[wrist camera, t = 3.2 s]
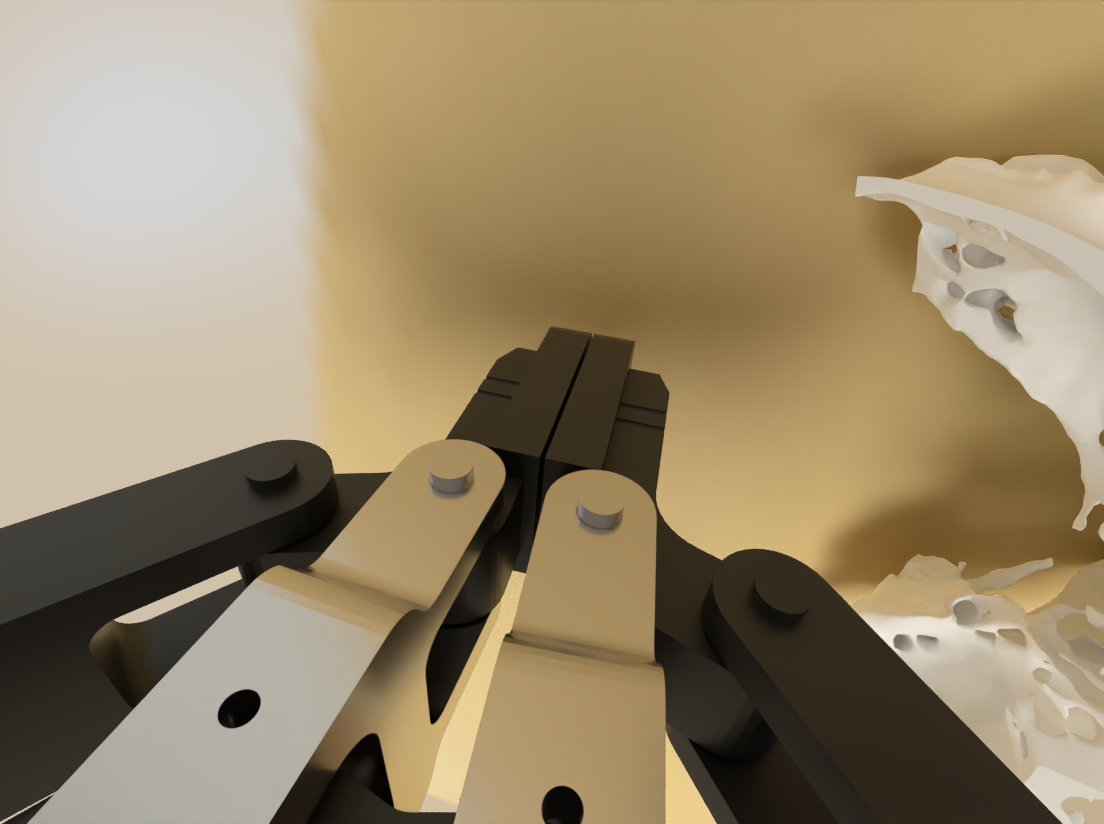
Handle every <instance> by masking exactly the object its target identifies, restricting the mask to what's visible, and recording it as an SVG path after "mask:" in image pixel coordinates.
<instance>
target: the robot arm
mask: <svg viewBox="0 0 1104 824" xmlns="http://www.w3.org/2000/svg"><path fill="white" fill-rule="evenodd" d="M634 347H635V341H631V340H625V339H620V338H614V337H609V336H603V335H598V334H594V336H593V338H592V333H586V332H581V331H575V330H570V329H564V328H559V327H554V326H551V327H550V329H549V331H548V332H547V334H546V336H545V338H544V340H543V342H542V343H541V345H540V347H539V349H538V351H533V350H528V349H523V348H516V349H514V350H513V351H511V352H509V353H508V354H506V355H504V356H502V357H501V358H499V359H497V361H496V362H495V364H494V365H493V367H492V368H491V370H490V372H489V373H488V375H487V377H486V379H484V381H483V382H482V384H481V385H480V387H479V388H478V392H477V393H475V395H474V396H473V398H472V399H471V401H470V402H469V404H468V405H467V407H466V408H465V410H464V412H463V413H462V415H461V416H460V418H459V419H458V421H457V422H456V424H455V425H454V427H453V428H452V430H451V432H450V433H449V435H448V436H447V438H446V439H445V440H440V441H435V442H431V443H428V444H425V445H423V446H421V447H419V448H417V449H415V450H413V451H412V452H411V453H409V454H408V455H407V456H406V457H405V458H404V459H403V460H402V461H401V462H400V464H399V465H398V466H397V467H396V468H395V469H394V471H393V472H386V473H353V474H334V470H333V465H332V460H331V458H330V456H329V455H328V454H327V453H326V451H325V450H323V449H322V448H320V447H319V446H317V445H315V444H312V443H309V442H305V441H299V440H277V441H271V442H266V443H262V444H258V445H255V446H252V447H249V448H246V449H243V450H240V451H237V452H233V453H231V454H227V455H225V456H221V457H218V458H215V459H212V460H209V461H206V462H203V463H200V464H197V465H194V466H191V467H188V468H184V469H181V470H178V471H175V472H172V473H169V474H166V475H163V476H160V477H157V478H154V479H151V480H148V481H145V482H141V483H139V484H135V485H132V486H129V487H126V488H123V489H120V490H117V491H114V492H111V493H108V494H105V495H102V496H99V497H95V498H93V499H89V500H86V501H83V502H81V503H77V504H74V505H71V506H68V507H65V508H62V509H59V510H56V511H53V512H49V513H46V514H43V515H40V516H37V517H34V518H31V519H28V520H25V521H22V522H19V523H16V524H13V525H10V526H6V527H4V528H0V821H2V820H4V819H6V818H8V817H10V816H11V815H13V814H15V813H17V812H19V811H21V810H23V809H24V808H26V807H28V806H30V805H32V804H34V803H35V802H37V801H39V800H41V799H43V798H45V797H47V796H49V795H50V794H52V793H54V792H56V791H57V792H56V793H55V794H53V795H52V796H50V797H48V798H47V799H45V800H43V801H41V802H39V803H38V804H36V805H34V806H32V807H31V808H29V809H27V810H25V811H24V812H22V813H20V814H18V815H16V816H15V817H13V818H11V819H9V820H8V821H6V822H4V823H2V824H665V729H666V732H667V735H668V738H669V740H670V742H671V744H672V746H673V748H674V749H675V751H676V753H677V755H678V756H679V758H680V760H681V762H682V763H683V765H684V767H685V769H686V770H687V772H688V774H689V776H690V777H691V779H692V781H693V783H694V784H695V786H696V788H697V790H698V791H699V793H700V795H701V797H702V798H703V800H704V802H705V804H706V805H707V807H708V809H709V811H710V812H711V814H712V816H713V818H714V819H715V821H716V823H717V824H1062V822H1061V821H1060V820H1059V819H1058V818H1057V817H1056V816H1055V815H1054V814H1053V813H1052V812H1051V811H1050V810H1049V809H1048V808H1047V807H1046V806H1045V805H1044V804H1043V803H1042V802H1041V801H1040V800H1039V799H1038V798H1037V797H1036V796H1035V795H1034V794H1033V793H1032V792H1031V791H1030V790H1029V789H1028V788H1027V787H1026V786H1025V785H1024V784H1023V783H1022V782H1021V780H1020V779H1019V778H1018V777H1017V776H1016V775H1015V774H1014V773H1013V772H1012V771H1011V770H1010V769H1009V768H1008V767H1007V766H1006V765H1005V764H1004V763H1003V762H1002V761H1001V760H1000V759H999V758H998V757H997V756H996V755H995V754H994V753H993V752H992V751H991V750H990V749H989V748H988V747H987V746H986V745H985V744H984V743H983V742H982V741H981V740H980V738H979V737H978V736H977V735H976V734H975V733H974V732H973V731H972V730H971V729H970V728H969V727H968V726H967V725H966V724H965V723H964V722H963V721H962V720H961V719H960V718H959V717H958V716H957V715H956V714H955V713H954V712H953V711H952V710H951V709H950V708H949V707H948V706H947V705H946V704H945V703H944V702H943V701H942V700H941V699H940V698H939V696H938V695H937V694H936V693H935V692H934V691H933V690H932V689H931V688H930V687H929V686H928V685H927V684H926V683H925V682H924V681H923V680H922V679H921V678H920V677H919V676H918V675H917V674H916V673H915V672H914V671H913V670H912V669H911V668H910V667H909V666H908V665H907V664H906V663H905V662H904V661H903V660H902V659H901V658H900V657H899V656H898V654H897V653H896V652H895V651H894V650H893V649H892V648H891V647H890V646H889V645H888V644H887V643H886V642H885V641H884V640H883V639H882V638H881V637H880V636H879V635H878V634H877V633H876V632H875V631H874V630H873V629H872V628H871V627H870V626H869V625H868V624H867V623H866V622H865V621H864V620H863V619H862V618H861V617H860V616H859V615H858V614H857V612H856V611H855V610H854V609H853V608H852V607H851V606H850V605H849V604H848V603H847V602H846V601H845V600H844V599H843V598H842V597H841V596H840V595H839V594H838V593H837V592H836V591H835V590H834V589H833V588H832V587H831V586H830V585H829V584H828V583H827V582H826V581H825V580H824V579H823V578H822V577H821V576H820V575H819V574H818V573H817V572H815V571H814V570H812V569H811V568H810V567H808V566H807V565H805V564H803V563H802V562H800V561H798V560H796V559H794V558H792V557H790V556H787V555H785V554H782V553H779V552H775V551H770V550H765V549H747V550H742V551H738V552H735V553H733V554H731V555H729V556H727V557H726V558H725V559H723V560H720V559H718V558H716V557H714V556H712V555H710V554H708V553H706V552H704V551H702V550H700V549H698V548H697V547H695V546H693V545H691V544H690V543H688V542H686V541H685V540H684V539H682V538H681V537H680V536H678V535H677V534H676V533H675V532H674V531H673V530H672V529H671V528H670V527H669V526H668V524H667V523H666V522H665V521H664V519H663V517H662V516H661V514H660V512H659V509H658V507H657V502H656V489H657V482H658V474H659V467H660V459H661V452H662V444H663V437H664V429H665V422H666V413H667V407H668V400H669V391H668V389H667V388H666V386H665V384H664V382H663V380H662V378H661V376H660V375H659V374H655V373H649V372H644V371H639V370H634V369H631V363H632V358H633V353H634ZM237 566H238V569H239V571H240V574H241V576H242V579H241V580H238V581H236V582H234V583H232V584H230V585H227V586H225V587H222V588H220V589H218V590H216V591H213V592H211V593H209V594H207V595H204V596H202V597H200V598H197V599H195V600H193V601H191V602H188V603H186V604H184V605H182V606H179V607H177V608H175V609H173V610H170V611H168V612H166V613H163V614H161V615H159V616H157V617H154V618H152V619H149V620H147V621H143V622H140V623H132V624H124V623H119V622H116V621H114V619H116V618H118V617H120V616H122V615H125V614H127V613H129V612H132V611H134V610H136V609H139V608H141V607H143V606H146V605H148V604H150V603H153V602H155V601H157V600H160V599H162V598H164V597H167V596H169V595H172V594H174V593H176V592H178V591H181V590H183V589H186V588H188V587H190V586H192V585H195V584H197V583H200V582H202V581H204V580H207V579H209V578H211V577H214V576H216V575H218V574H221V573H223V572H225V571H227V570H230V569H232V568H235V567H237ZM512 570H514V571H518V572H522V573H526V576H525V580H524V584H523V588H522V592H521V596H520V600H519V604H518V608H517V612H516V616H515V619H514V623H513V627H512V630H511V632H510V633H507V634H506V635H505V637H504V639H503V642H502V644H501V647H500V651H499V654H498V657H497V661H496V664H495V668H494V672H493V676H492V680H491V683H490V687H489V691H488V695H487V699H486V702H485V706H484V710H483V714H482V718H481V721H480V725H479V729H478V733H477V737H476V741H475V744H474V748H473V752H472V756H471V760H470V763H469V767H468V771H467V775H466V779H465V782H464V786H463V790H462V794H461V798H460V802H459V805H458V809H457V812H455V813H454V812H450V813H447V812H439V813H438V812H437V813H436V812H419V811H420V808H421V806H422V803H423V801H424V798H425V796H426V793H427V790H428V787H429V784H430V781H431V777H432V774H433V770H434V766H435V761H436V756H437V752H438V749H439V746H440V743H441V740H442V737H443V735H444V732H445V730H446V728H447V726H448V723H449V721H450V719H451V717H452V715H453V713H454V711H455V708H456V706H457V704H458V702H459V700H460V698H461V695H462V693H463V691H464V689H465V687H466V685H467V683H468V680H469V678H470V676H471V674H472V672H473V670H474V668H475V665H476V663H477V661H478V659H479V657H480V655H481V652H482V650H483V648H484V646H485V644H486V642H487V640H488V637H489V635H490V633H491V631H492V629H493V627H494V625H495V622H496V620H497V618H498V615H499V612H500V606H501V598H502V596H503V594H504V592H505V589H506V586H507V584H508V581H509V578H510V576H511V573H512Z"/></svg>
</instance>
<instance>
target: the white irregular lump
mask: <svg viewBox="0 0 1104 824" xmlns="http://www.w3.org/2000/svg"><path fill="white" fill-rule="evenodd" d="M858 196H866V197H870V198H872V199H874V200H877V201H897V202H900V203H903V204H905V205H907V206H908V207H909V208H910V209H911V210H912V211H913V212H914V213H915V214H916V215H917V216H918V218H919V220H920V221H921V223H922V225H923V227H922V229H921V232H920V234H919V238H918V251H917V264H916V277H915V281H914V284H913V288H912V292H916V293H922V294H924V295H925V296H926V297H927V298H928V300H929V301H930V302H931V303H932V304H933V305H934V306H935V307H937V308H938V309H939V310H940V312H941V315H942V316H943V318H944V319H945V320H946V322H947V323H948V324H949V325H950V327H951V328H952V329H953V330H955V331H960V332H963V333H965V334H966V335H967V336H968V337H969V338H970V339H971V340H972V341H973V342H974V344H975V345H976V346H977V347H978V348H979V349H981V350H982V351H983V352H984V353H985V354H986V355H987V356H988V357H990V358H993V359H994V360H996V361H998V362H999V363H1000V364H1002V365H1003V366H1004V367H1006V368H1007V370H1008V371H1009V372H1010V374H1011V375H1012V376H1014V377H1015V378H1016V379H1017V380H1018V381H1019V382H1020V383H1021V384H1022V386H1023V387H1024V388H1025V390H1026V391H1027V393H1028V394H1029V395H1030V396H1031V397H1032V398H1033V399H1034V400H1036V401H1038V402H1040V403H1042V404H1045V405H1046V406H1047V407H1048V408H1050V409H1051V410H1052V411H1053V412H1054V413H1055V414H1056V416H1057V418H1058V419H1059V420H1060V422H1061V423H1062V425H1063V427H1064V429H1065V431H1066V433H1067V435H1068V436H1069V437H1070V438H1071V439H1072V441H1073V442H1074V444H1075V445H1076V447H1077V450H1078V453H1079V456H1080V464H1081V479H1082V481H1083V483H1084V486H1085V495H1084V498H1083V507H1082V509H1081V511H1080V513H1079V515H1078V516H1077V518H1076V519H1075V521H1074V523H1073V526H1072V528H1075V529H1077V530H1079V531H1082V530H1083V529H1084V528H1085V527H1086V525H1087V520H1086V517H1087V516H1088V514H1089V513H1090V511H1091V510H1092V509H1093V507H1094V506H1095V505H1097V504H1100V503H1101V504H1103V505H1104V446H1102V445H1101V444H1100V443H1099V436H1100V433H1101V432H1102V431H1103V430H1104V176H1103V175H1102V174H1101V173H1100V172H1099V171H1098V170H1097V169H1096V168H1095V167H1093V166H1092V165H1091V164H1089V163H1088V162H1086V161H1085V160H1083V159H1080V158H1074V157H1069V156H1066V155H1050V154H1041V155H1026V156H1015V157H1013V158H1011V159H1010V160H1008V161H1007V162H1006V163H1004V164H1003V165H1001V166H1000V165H999V164H998V163H996V162H995V161H992V160H989V159H985V158H964V157H952V158H949V159H946V160H944V161H943V162H941V163H940V164H938V165H935V166H933V167H931V168H929V169H927V170H925V171H923V172H921V173H918V174H916V175H912V176H909V177H905V178H902V179H891V178H884V177H870V176H858V178H857V184H856V191H855V197H858ZM953 245H957V246H956V247H957V249H958V250H957V251H956V252H955V253H953V252H952V249H945V248H947V247H950V246H953ZM1003 306H1008V307H1010V308H1012V309H1014V310H1015V312H1013V318H1014V321H1013V320H1011V319H1008V318H1005V317H1003V316H1002V315H1001V313H1000V309H1001V308H1002V307H1003ZM1098 533H1099V536H1100V537H1101V539H1102V540H1103V541H1104V522H1103V523H1102V525H1101V526H1100V528H1099V531H1098ZM966 564H967V563H965V562H959V565H958V567H957V566H955V565H954V564H952V563H951V562H949V561H948V560H946V559H944V558H939V557H935V556H929V557H928V556H921V555H920V554H917V555H916V556H914V557H913V558H912V559H910V560H909V561H908V562H907V564H906V565H905V567H904V568H903V570H902V571H901V572H900V574H898V575H894V574H890V575H888V576H887V577H886V578H885V579H884V580H883V581H882V582H881V583H880V584H879V585H878V586H877V587H876V588H875V590H874V591H873V592H872V593H871V594H870V595H869V596H867V597H864V598H857V599H855V600H854V601H853V602H852V603H851V605H850V606H851V607H852V608H853V609H854V610H855V611H856V612H857V614H858V615H859V616H860V617H861V618H862V619H863V620H864V621H865V622H866V623H867V624H868V625H869V626H870V627H871V628H872V629H873V630H874V631H875V632H876V633H877V634H878V635H879V636H880V637H881V638H882V639H883V640H884V641H885V642H886V643H887V644H888V645H889V646H890V647H891V648H892V649H893V650H894V651H895V652H896V653H897V654H898V656H899V657H900V658H901V659H902V660H903V661H904V662H905V663H906V664H907V665H908V666H909V667H910V668H911V669H912V670H913V671H914V672H915V673H916V674H917V675H918V676H919V677H920V678H921V679H922V680H923V681H924V682H925V683H926V684H927V685H928V686H929V687H930V688H931V689H932V690H933V691H934V692H935V693H936V694H937V695H938V696H939V698H940V699H941V700H942V701H943V702H944V703H945V704H946V705H947V706H948V707H949V708H950V709H951V710H952V711H953V712H954V713H955V714H956V715H957V716H958V717H959V718H960V719H961V720H962V721H963V722H964V723H965V724H966V725H967V726H968V727H969V728H970V729H971V730H972V731H973V732H974V733H975V734H976V735H977V736H978V737H979V738H980V740H981V741H982V742H983V743H984V744H985V745H986V746H987V747H988V748H989V749H990V750H991V751H992V752H993V753H994V754H995V755H996V756H997V757H998V758H999V759H1000V760H1001V761H1002V762H1003V763H1004V764H1005V765H1006V766H1007V767H1008V768H1009V769H1010V770H1011V771H1012V772H1013V773H1014V774H1015V775H1016V776H1017V777H1018V778H1019V779H1020V780H1021V782H1022V783H1023V784H1024V785H1025V786H1026V787H1027V788H1028V789H1029V790H1030V791H1031V792H1032V793H1033V794H1034V795H1035V796H1036V797H1037V798H1038V799H1039V800H1040V801H1041V802H1042V803H1043V804H1044V805H1045V806H1046V807H1047V808H1048V809H1049V810H1050V811H1051V812H1052V813H1053V814H1054V815H1055V816H1056V817H1057V818H1058V819H1059V820H1060V821H1061V822H1062V824H1104V559H1102V560H1100V561H1097V562H1095V563H1092V564H1090V565H1087V566H1086V567H1084V568H1083V569H1081V570H1079V571H1078V572H1077V574H1076V575H1074V576H1073V577H1072V578H1071V579H1070V580H1069V581H1068V583H1067V585H1066V587H1065V588H1064V589H1063V590H1062V591H1061V592H1060V593H1059V595H1058V596H1057V597H1055V598H1054V599H1052V600H1051V601H1050V602H1048V603H1047V604H1045V605H1043V606H1041V607H1039V608H1037V609H1035V610H1033V611H1031V612H1029V613H1026V610H1025V609H1024V608H1023V607H1022V606H1020V605H1019V604H1016V603H1014V602H1013V601H1011V600H1010V599H1008V598H1007V597H1005V596H1002V595H1000V594H993V595H991V596H985V595H981V594H980V592H984V591H992V590H1001V589H1004V588H1007V587H1009V586H1011V585H1013V584H1014V583H1015V582H1016V581H1018V580H1019V579H1021V578H1022V577H1024V576H1026V575H1027V574H1029V573H1031V572H1034V571H1038V570H1042V569H1048V568H1050V567H1051V566H1053V564H1054V562H1053V559H1052V558H1046V559H1044V560H1034V561H1030V562H1026V563H1023V564H1020V565H1017V566H1014V567H1011V568H1002V569H995V570H993V571H991V572H990V573H988V574H986V575H984V576H981V577H978V578H974V579H963V578H962V576H961V572H962V571H963V570H964V568H965V567H966Z"/></svg>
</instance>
